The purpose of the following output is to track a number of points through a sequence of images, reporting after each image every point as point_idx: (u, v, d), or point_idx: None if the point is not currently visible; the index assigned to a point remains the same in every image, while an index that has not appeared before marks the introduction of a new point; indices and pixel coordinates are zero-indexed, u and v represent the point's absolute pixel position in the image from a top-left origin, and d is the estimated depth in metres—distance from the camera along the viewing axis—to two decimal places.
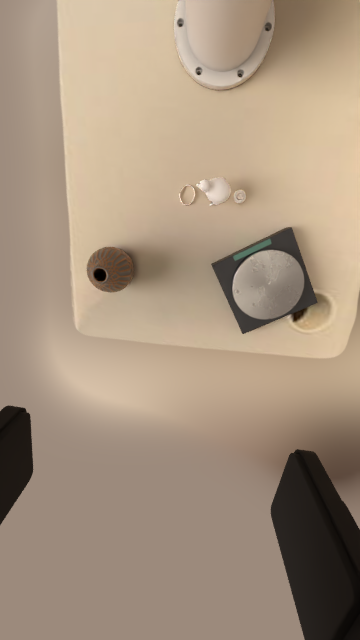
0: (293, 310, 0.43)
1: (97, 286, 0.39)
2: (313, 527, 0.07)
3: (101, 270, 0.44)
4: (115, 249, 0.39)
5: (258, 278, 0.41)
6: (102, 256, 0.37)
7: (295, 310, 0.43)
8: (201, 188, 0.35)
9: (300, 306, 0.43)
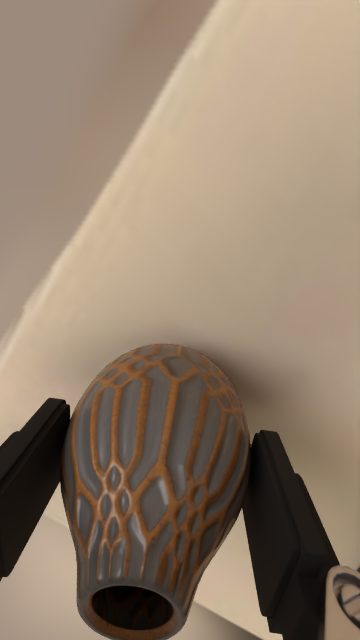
0: None
1: None
2: (267, 496, 0.08)
3: None
4: (236, 410, 0.09)
5: None
6: (194, 462, 0.07)
7: None
8: None
9: None
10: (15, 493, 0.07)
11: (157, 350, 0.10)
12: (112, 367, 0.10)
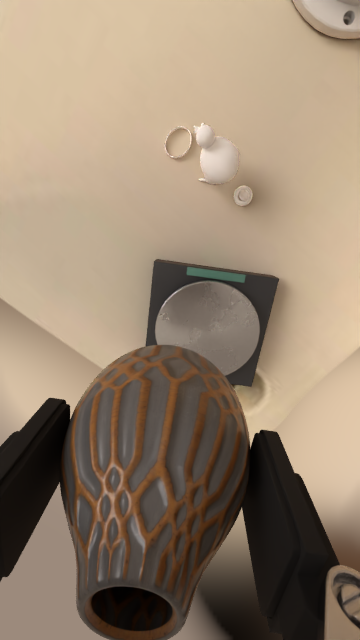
0: None
1: None
2: (267, 496, 0.08)
3: None
4: (236, 411, 0.09)
5: (201, 316, 0.27)
6: (193, 464, 0.07)
7: None
8: (197, 135, 0.21)
9: (230, 379, 0.31)
10: (15, 493, 0.07)
11: (157, 351, 0.10)
12: (112, 368, 0.10)
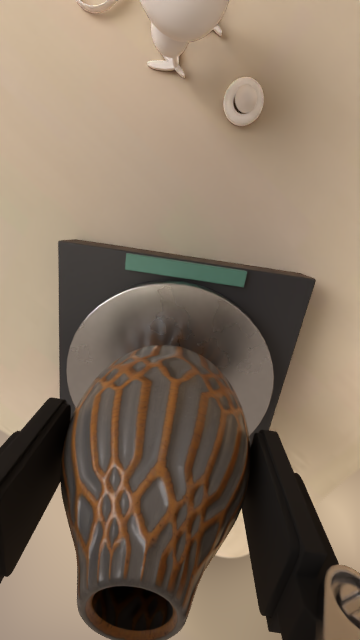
0: None
1: None
2: (267, 495, 0.08)
3: None
4: (236, 411, 0.09)
5: None
6: (194, 463, 0.07)
7: None
8: None
9: None
10: (16, 493, 0.07)
11: (157, 351, 0.10)
12: (112, 368, 0.10)
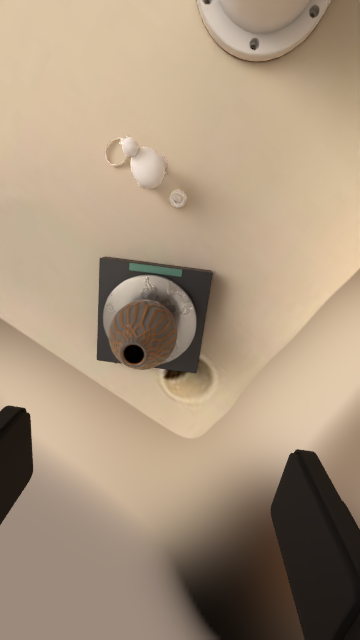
0: (166, 366, 0.34)
1: (115, 354, 0.25)
2: (313, 527, 0.07)
3: None
4: (169, 317, 0.26)
5: None
6: (151, 324, 0.24)
7: (168, 367, 0.34)
8: (122, 146, 0.24)
9: (176, 366, 0.34)
10: None
11: (142, 300, 0.27)
12: (125, 305, 0.26)
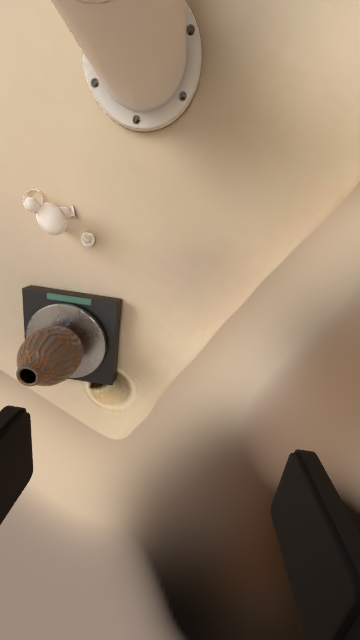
0: (86, 379, 0.39)
1: (21, 374, 0.30)
2: (313, 527, 0.07)
3: None
4: (69, 343, 0.31)
5: None
6: (46, 351, 0.29)
7: (88, 380, 0.39)
8: (24, 204, 0.29)
9: (94, 379, 0.39)
10: None
11: (50, 327, 0.32)
12: (34, 332, 0.32)
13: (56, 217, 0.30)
